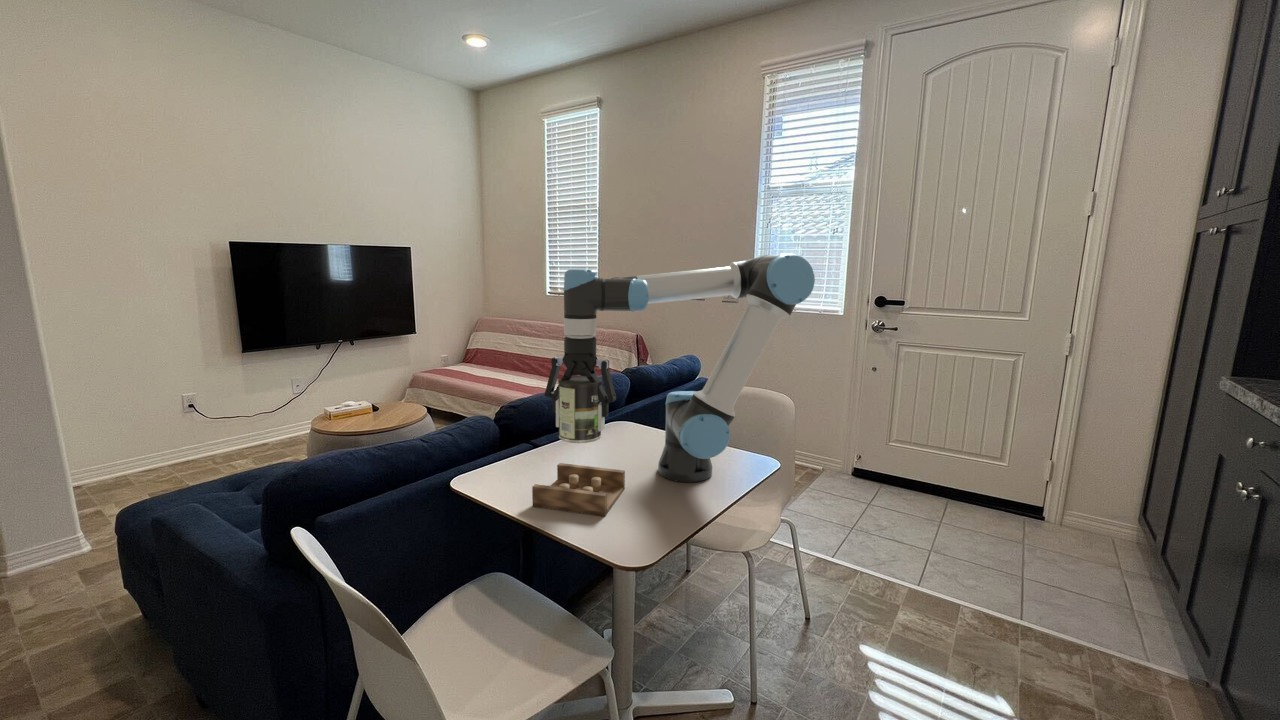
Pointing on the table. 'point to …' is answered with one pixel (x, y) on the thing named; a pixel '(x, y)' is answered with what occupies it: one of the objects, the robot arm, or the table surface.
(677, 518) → the table surface
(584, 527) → the table surface
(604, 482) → the wooden tray
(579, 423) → the coffee can
